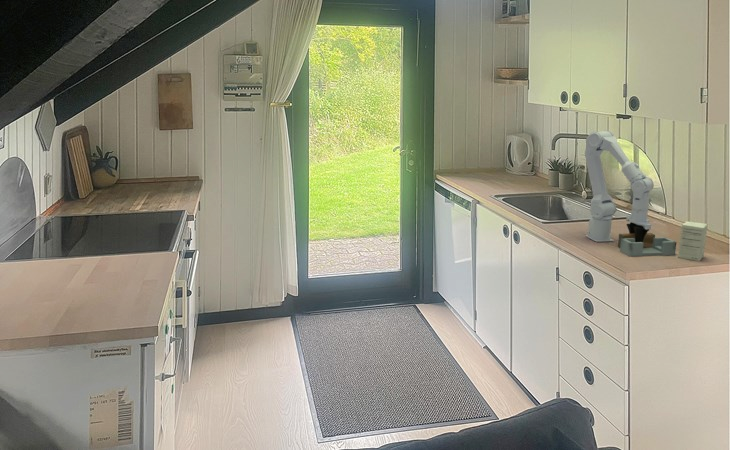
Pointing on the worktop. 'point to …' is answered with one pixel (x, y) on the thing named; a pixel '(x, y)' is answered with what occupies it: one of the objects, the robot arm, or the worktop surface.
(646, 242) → the tan brown long block
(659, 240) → the green tray
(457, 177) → the worktop surface
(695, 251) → the supplement box
